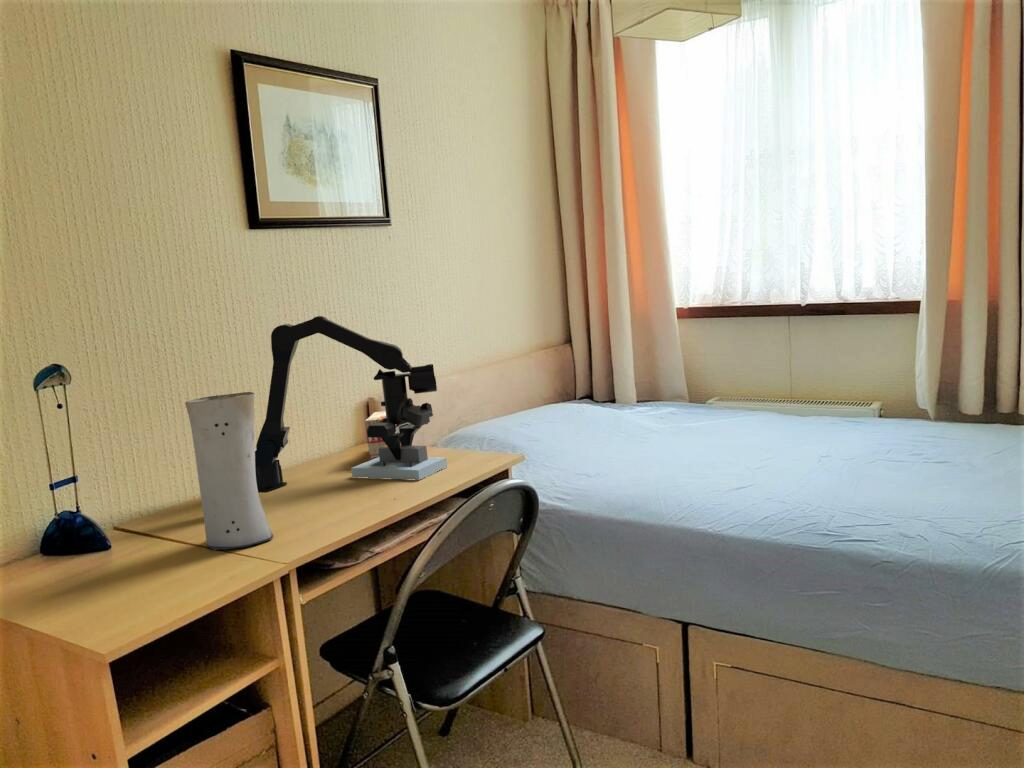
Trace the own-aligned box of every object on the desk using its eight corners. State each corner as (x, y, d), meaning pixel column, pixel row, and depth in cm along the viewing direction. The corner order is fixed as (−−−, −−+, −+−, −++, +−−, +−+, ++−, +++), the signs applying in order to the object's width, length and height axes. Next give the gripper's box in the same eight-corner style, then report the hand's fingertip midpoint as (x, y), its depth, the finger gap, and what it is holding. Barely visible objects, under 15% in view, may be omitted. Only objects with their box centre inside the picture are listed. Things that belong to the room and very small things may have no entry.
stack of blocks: (386, 448, 224) (380, 406, 222) (407, 446, 224) (402, 404, 222) (370, 466, 203) (364, 419, 201) (394, 464, 203) (388, 417, 201)
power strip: (428, 468, 191) (426, 444, 191) (420, 471, 188) (417, 448, 188) (389, 467, 197) (386, 444, 196) (381, 470, 194) (378, 447, 193)
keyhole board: (447, 467, 192) (446, 457, 191) (419, 480, 181) (418, 470, 181) (382, 465, 201) (381, 456, 201) (352, 477, 191) (351, 467, 190)
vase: (291, 534, 150) (274, 390, 148) (231, 556, 139) (211, 401, 136) (248, 528, 158) (231, 391, 155) (188, 549, 146) (168, 402, 144)
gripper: (399, 402, 179) (407, 468, 181) (443, 389, 195) (450, 449, 197) (361, 403, 184) (369, 467, 186) (407, 390, 200) (414, 449, 202)
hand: (402, 458), depth 192 cm, fingers closed on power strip, 3 cm apart
